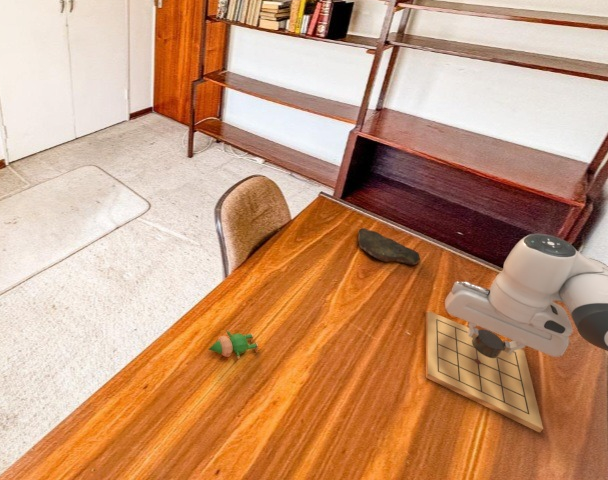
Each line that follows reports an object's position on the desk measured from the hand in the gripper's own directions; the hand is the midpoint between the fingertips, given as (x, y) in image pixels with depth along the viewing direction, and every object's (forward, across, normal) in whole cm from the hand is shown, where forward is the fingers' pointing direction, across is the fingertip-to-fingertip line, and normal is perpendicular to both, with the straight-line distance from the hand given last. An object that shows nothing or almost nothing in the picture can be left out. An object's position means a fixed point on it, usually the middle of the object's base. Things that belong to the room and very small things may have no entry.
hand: (488, 342), depth 90 cm
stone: (+8, -21, +29) cm, 37 cm away
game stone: (+2, 0, 0) cm, 2 cm away
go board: (+8, 0, 0) cm, 8 cm away
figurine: (+9, -50, -29) cm, 58 cm away
